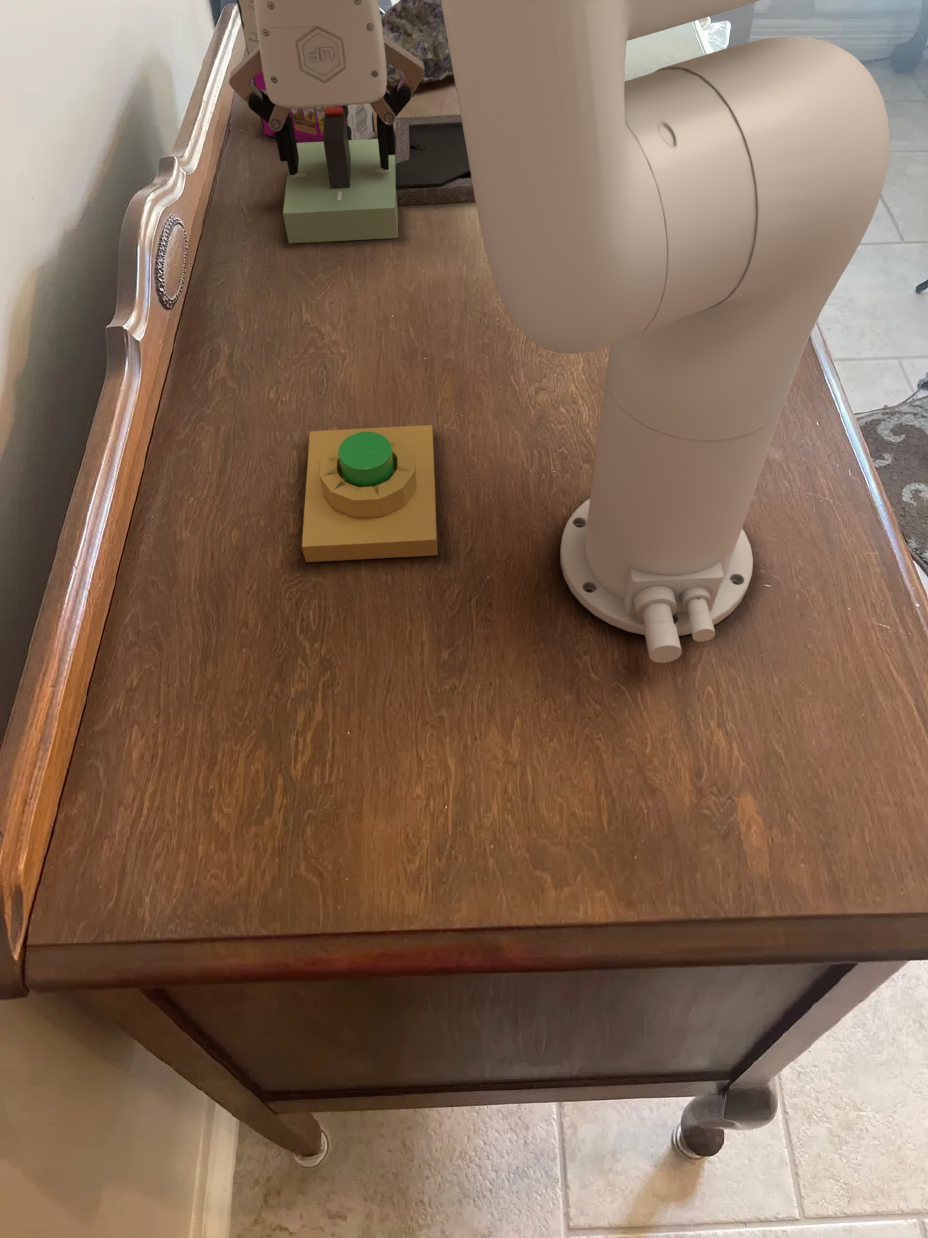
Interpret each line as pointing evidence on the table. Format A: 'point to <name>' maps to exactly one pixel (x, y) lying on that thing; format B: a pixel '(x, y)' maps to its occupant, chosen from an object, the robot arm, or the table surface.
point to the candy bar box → (309, 118)
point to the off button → (366, 459)
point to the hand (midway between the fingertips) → (339, 163)
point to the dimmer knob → (337, 147)
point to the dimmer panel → (341, 197)
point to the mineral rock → (419, 37)
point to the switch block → (371, 500)
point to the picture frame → (432, 161)
